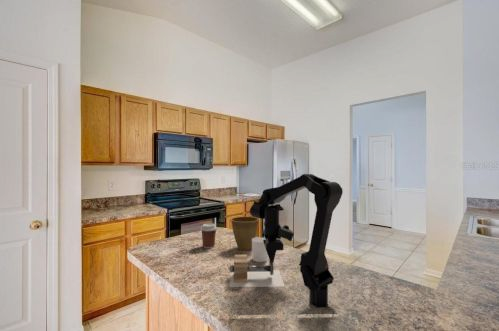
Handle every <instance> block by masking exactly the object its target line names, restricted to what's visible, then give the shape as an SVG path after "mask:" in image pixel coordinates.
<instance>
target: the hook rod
mask: <svg viewBox="0 0 499 331" xmlns="http://www.w3.org/2000/svg"><path fill="white" fill-rule="evenodd" d="M268 260H269V261H268V263H269V265H247V272H270V275H273V272H274V270H275V269H274V263H275V260H274V261H273V262H270V259H269V258H268ZM228 271H229V272H230V273H231V272H234V264H231V265H229V267H228Z"/></svg>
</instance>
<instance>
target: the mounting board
mask: <svg viewBox="0 0 499 331" xmlns="http://www.w3.org/2000/svg"><path fill="white" fill-rule="evenodd" d="M285 286H286V285H285V283H284V281H283V277H282V275H281V272H280V270H279V269H274V272H273V275H270V272H247V283H234V272H230V278H229V286H228V287H229V288H248V287H249V288H255V287H256V288H257V287H259V288H262V287H263V288H270V287H271V288H272V287H274V288H276V287H278V288H279V287H280V288H281V287H283V288H285Z"/></svg>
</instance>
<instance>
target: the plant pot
mask: <svg viewBox="0 0 499 331" xmlns="http://www.w3.org/2000/svg"><path fill="white" fill-rule="evenodd" d="M230 221H231V228H232V232H233V236H234V240H235V244H236V246H237V249H238V250H241V251H250V250H252V239H253V238H256V237H257V231H258V227H259V226H258V225H259V218H257V217H253V216H236V217H232V218H231V220H230Z"/></svg>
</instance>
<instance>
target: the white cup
mask: <svg viewBox="0 0 499 331" xmlns="http://www.w3.org/2000/svg"><path fill="white" fill-rule="evenodd" d="M263 240H265V237H264V238H262V236H261V237H260V236H259V237H258V236H256V237H255V238H253V239H252V249H251V251H252V252H251V253H252V254H251V255H252V260H253V262H257V263H264V262H266V261H268V254H267V251H266V248H265V245H264V242H263Z"/></svg>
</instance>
